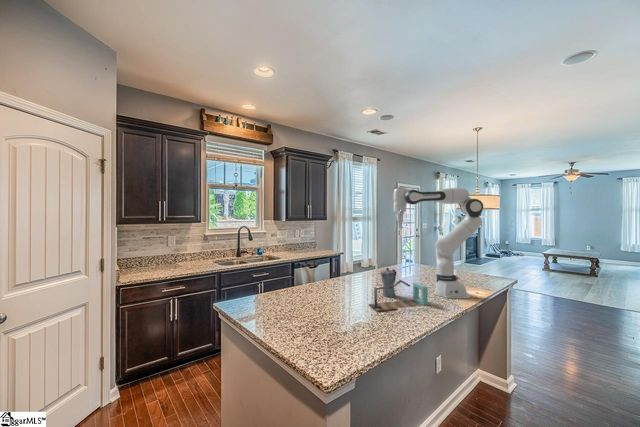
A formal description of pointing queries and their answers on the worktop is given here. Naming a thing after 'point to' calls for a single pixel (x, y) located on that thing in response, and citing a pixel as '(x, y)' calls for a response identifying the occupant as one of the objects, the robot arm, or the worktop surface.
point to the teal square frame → (423, 291)
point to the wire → (383, 288)
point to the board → (396, 305)
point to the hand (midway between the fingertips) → (400, 228)
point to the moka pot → (388, 282)
